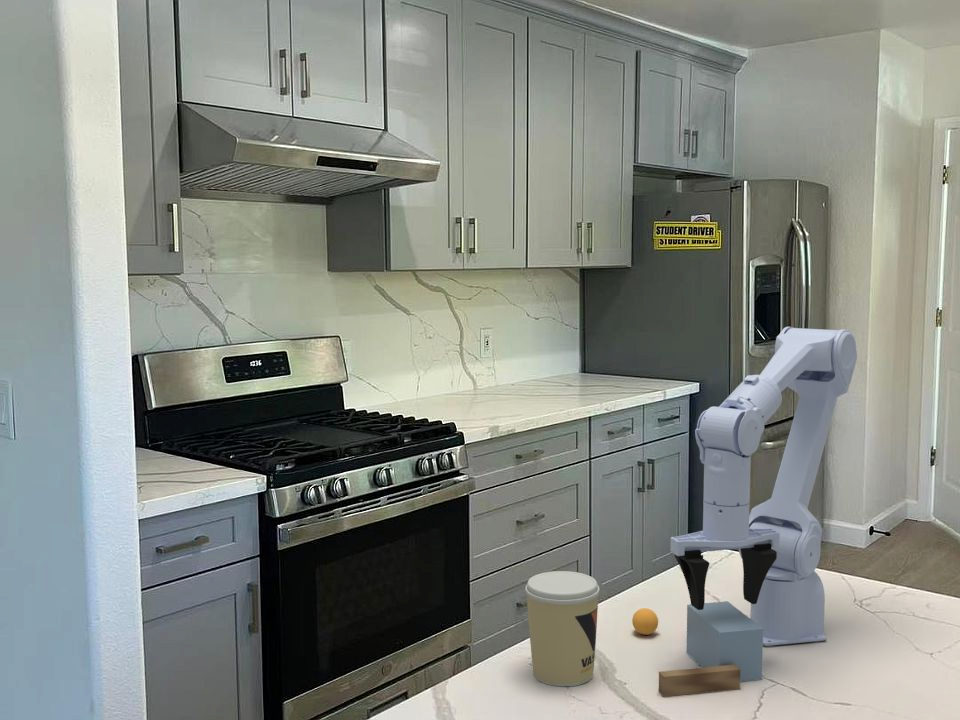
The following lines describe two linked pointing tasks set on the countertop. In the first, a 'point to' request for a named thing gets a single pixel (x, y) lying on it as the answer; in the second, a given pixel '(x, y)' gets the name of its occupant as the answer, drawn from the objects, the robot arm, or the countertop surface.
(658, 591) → the countertop surface
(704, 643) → the blue-grey rectangular block
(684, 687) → the brown rectangular block
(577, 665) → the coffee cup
